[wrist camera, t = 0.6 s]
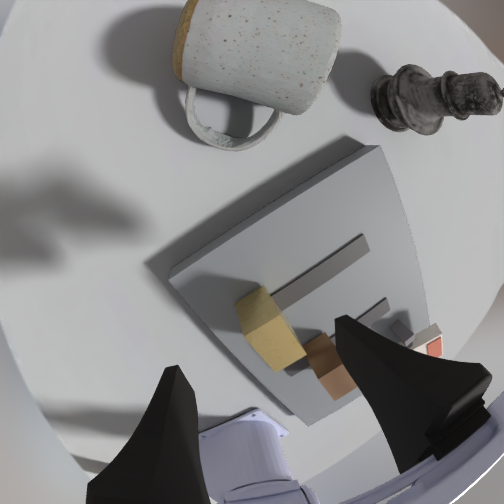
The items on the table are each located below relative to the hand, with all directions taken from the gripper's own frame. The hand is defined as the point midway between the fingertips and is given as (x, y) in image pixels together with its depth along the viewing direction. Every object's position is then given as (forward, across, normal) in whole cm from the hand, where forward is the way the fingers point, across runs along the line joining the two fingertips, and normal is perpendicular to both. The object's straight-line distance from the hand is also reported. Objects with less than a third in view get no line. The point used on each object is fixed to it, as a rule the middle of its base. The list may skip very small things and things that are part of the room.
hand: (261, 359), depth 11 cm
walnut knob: (+7, -5, +9) cm, 13 cm away
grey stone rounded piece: (+11, -17, -10) cm, 22 cm away
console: (+10, -8, +8) cm, 15 cm away
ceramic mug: (+11, -4, -13) cm, 18 cm away
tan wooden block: (+8, -1, +3) cm, 8 cm away
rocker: (+5, -14, +13) cm, 20 cm away
